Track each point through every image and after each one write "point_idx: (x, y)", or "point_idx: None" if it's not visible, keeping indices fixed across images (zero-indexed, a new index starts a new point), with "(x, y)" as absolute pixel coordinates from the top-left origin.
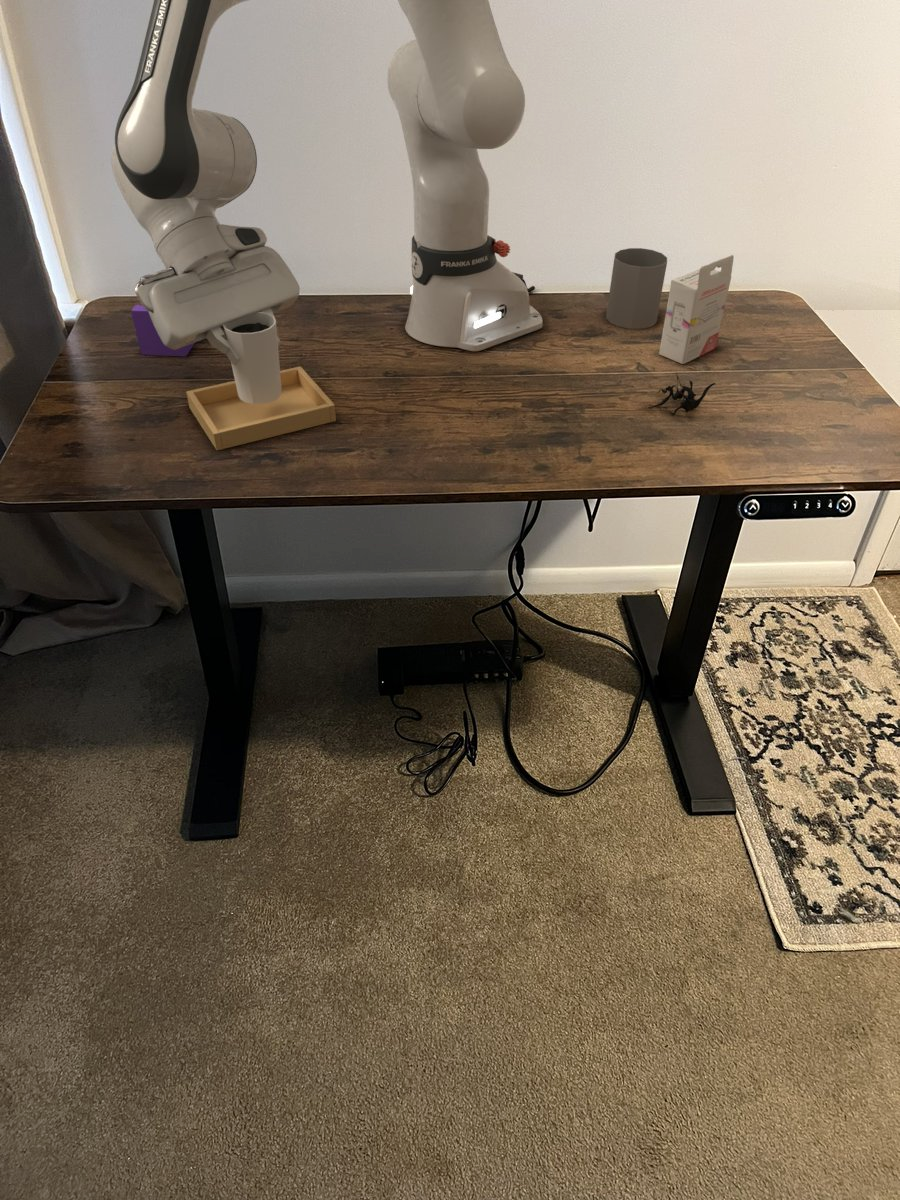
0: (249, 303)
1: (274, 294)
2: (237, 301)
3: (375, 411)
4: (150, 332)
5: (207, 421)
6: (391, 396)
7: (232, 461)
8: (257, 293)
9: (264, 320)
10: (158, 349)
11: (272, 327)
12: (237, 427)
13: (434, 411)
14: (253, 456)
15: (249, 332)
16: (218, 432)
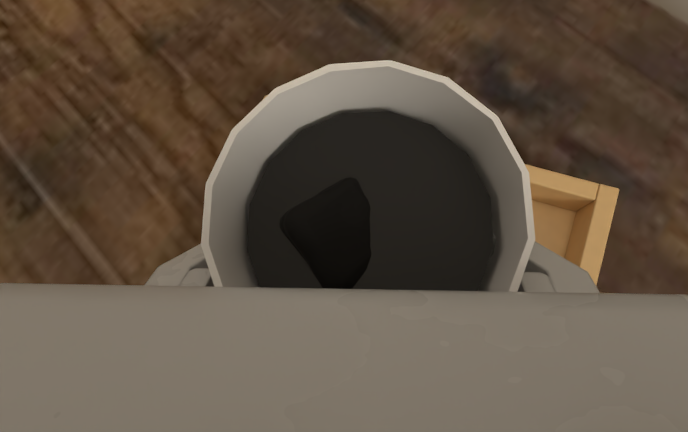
0: (241, 318)
1: (21, 314)
2: (316, 360)
3: (186, 90)
4: None
5: (596, 262)
6: (110, 117)
7: (588, 135)
8: (107, 361)
9: (232, 262)
10: None
11: (303, 81)
12: (541, 171)
13: (108, 10)
14: (532, 120)
15: (368, 234)
16: (603, 185)
